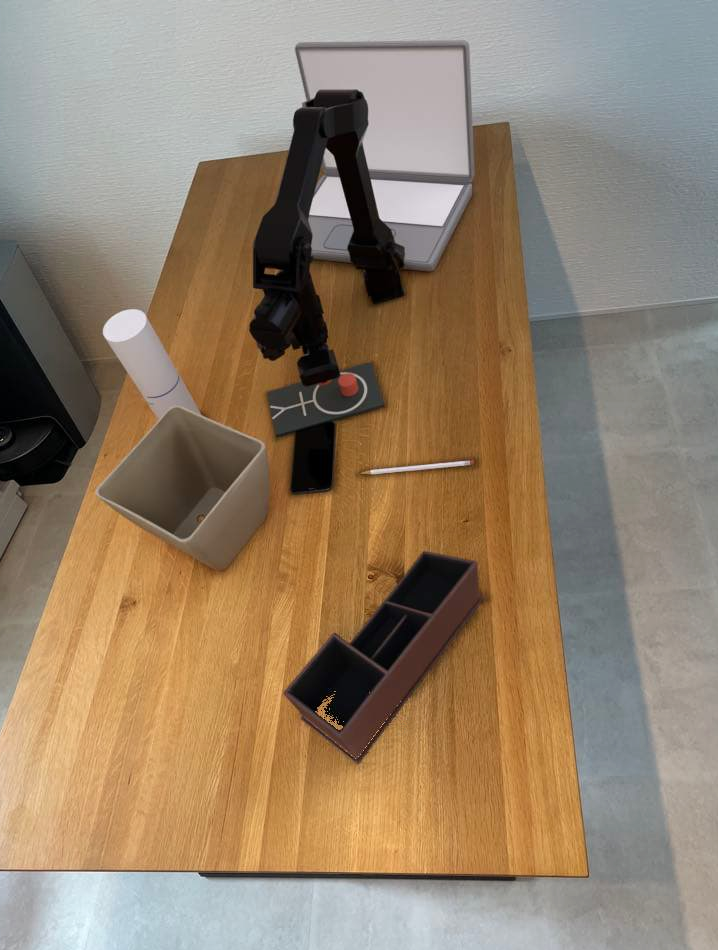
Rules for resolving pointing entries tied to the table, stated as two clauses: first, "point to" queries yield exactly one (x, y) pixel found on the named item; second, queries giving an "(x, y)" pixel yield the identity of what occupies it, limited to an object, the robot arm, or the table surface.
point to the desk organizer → (387, 653)
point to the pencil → (420, 467)
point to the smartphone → (313, 459)
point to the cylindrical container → (147, 362)
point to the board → (323, 401)
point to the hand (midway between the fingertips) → (322, 374)
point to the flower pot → (193, 486)
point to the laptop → (398, 141)
